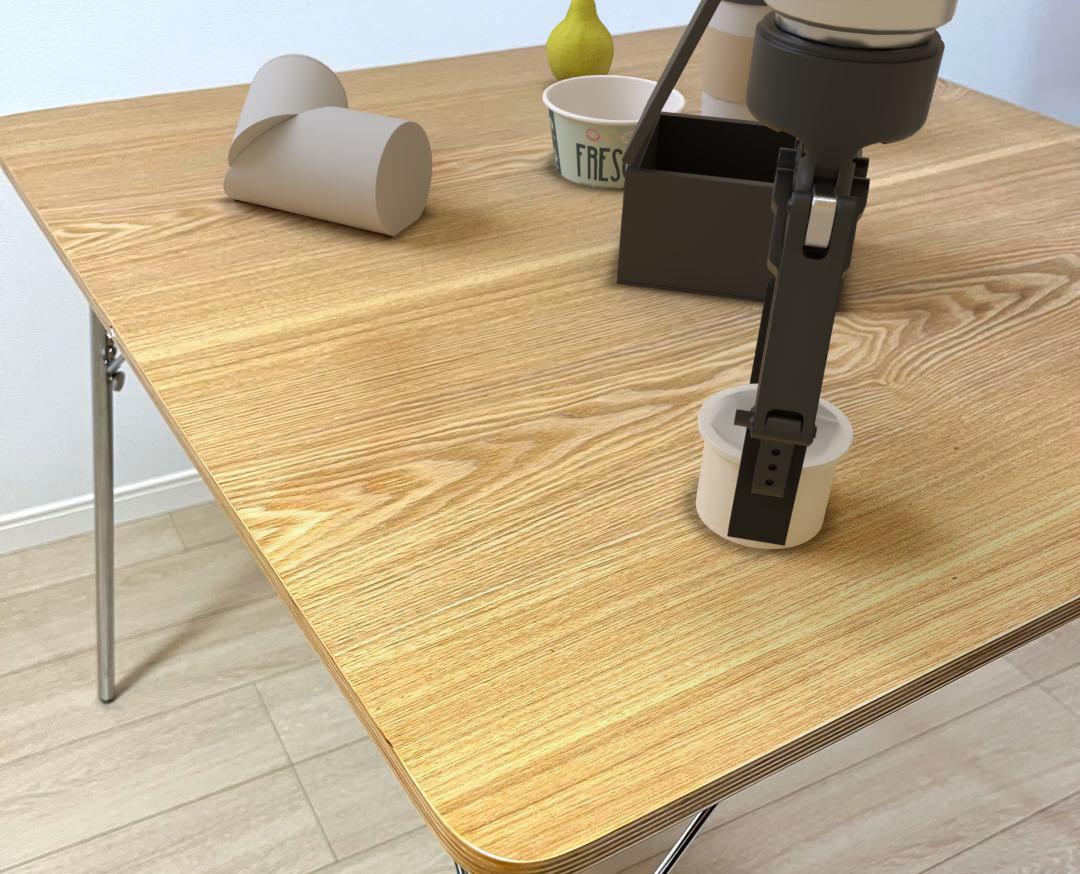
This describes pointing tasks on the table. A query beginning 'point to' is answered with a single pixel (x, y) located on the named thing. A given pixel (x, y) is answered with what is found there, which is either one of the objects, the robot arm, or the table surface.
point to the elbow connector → (325, 152)
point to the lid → (670, 77)
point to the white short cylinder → (726, 456)
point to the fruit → (580, 43)
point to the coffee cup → (729, 58)
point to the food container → (598, 124)
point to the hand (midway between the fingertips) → (765, 457)
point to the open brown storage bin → (701, 207)
